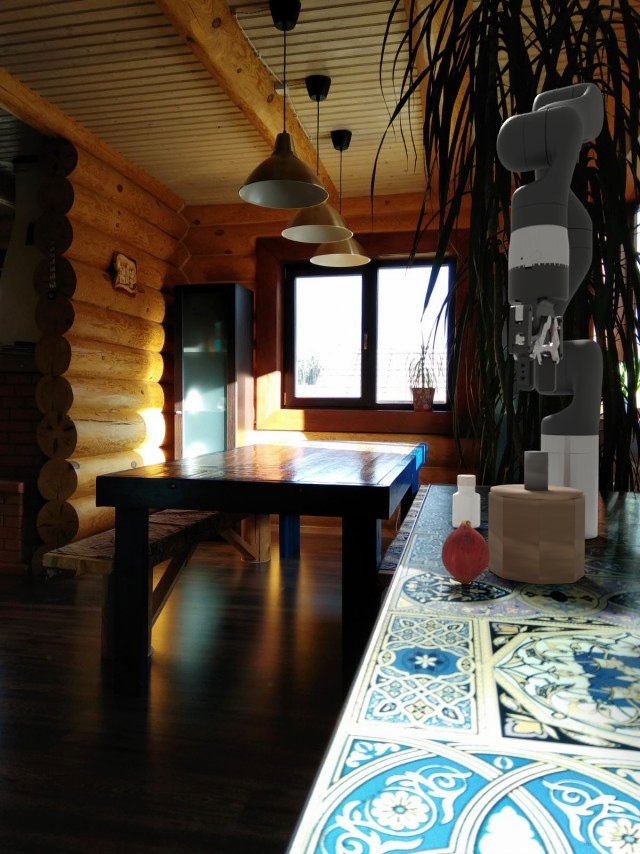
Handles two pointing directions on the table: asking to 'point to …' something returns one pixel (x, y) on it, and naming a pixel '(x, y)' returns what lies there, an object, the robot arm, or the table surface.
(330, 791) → the table surface
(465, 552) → the onion
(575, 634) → the table surface
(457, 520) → the pepper shaker
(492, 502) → the tan jar with knob
